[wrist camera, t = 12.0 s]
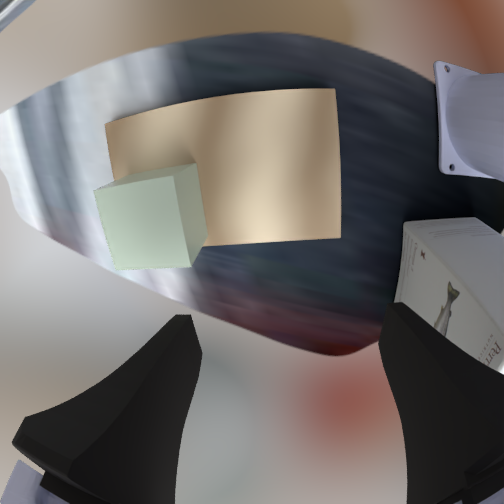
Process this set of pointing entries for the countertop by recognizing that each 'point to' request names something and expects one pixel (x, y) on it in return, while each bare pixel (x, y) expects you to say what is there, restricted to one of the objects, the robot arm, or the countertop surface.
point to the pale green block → (153, 218)
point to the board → (246, 161)
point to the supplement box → (457, 283)
